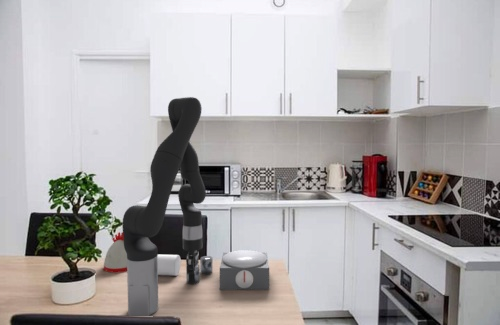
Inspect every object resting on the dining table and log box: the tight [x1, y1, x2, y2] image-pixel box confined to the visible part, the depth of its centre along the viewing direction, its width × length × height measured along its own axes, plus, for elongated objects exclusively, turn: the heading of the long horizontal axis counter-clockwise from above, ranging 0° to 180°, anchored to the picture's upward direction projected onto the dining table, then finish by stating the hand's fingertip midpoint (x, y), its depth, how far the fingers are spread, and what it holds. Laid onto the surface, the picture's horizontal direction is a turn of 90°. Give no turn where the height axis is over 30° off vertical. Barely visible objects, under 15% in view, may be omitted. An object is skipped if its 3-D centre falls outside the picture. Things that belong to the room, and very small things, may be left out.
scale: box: [219, 249, 270, 291], centre depth 126 cm, size 18×18×9 cm
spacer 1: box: [185, 263, 201, 285], centre depth 126 cm, size 5×5×6 cm
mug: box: [158, 254, 182, 277], centre depth 135 cm, size 12×10×8 cm
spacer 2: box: [199, 255, 214, 276], centre depth 135 cm, size 5×5×6 cm
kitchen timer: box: [103, 231, 127, 273], centre depth 142 cm, size 14×14×15 cm
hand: (193, 279), depth 126 cm, fingers closed on spacer 1, 5 cm apart
